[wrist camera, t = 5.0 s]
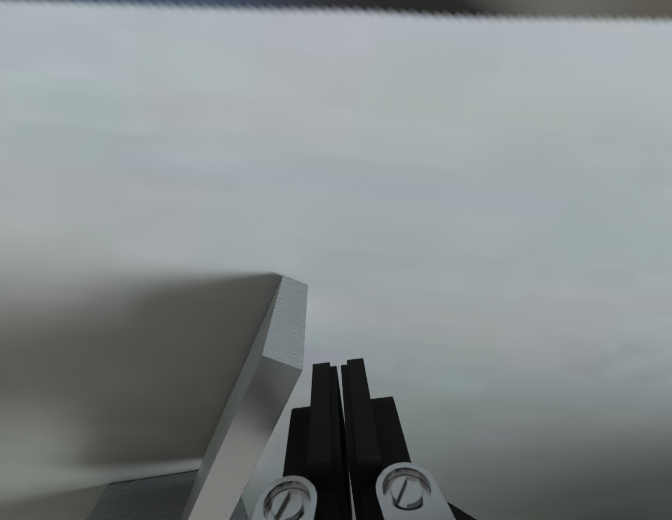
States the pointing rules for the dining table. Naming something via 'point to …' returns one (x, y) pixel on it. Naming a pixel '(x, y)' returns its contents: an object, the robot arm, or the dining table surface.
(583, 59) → the dining table surface
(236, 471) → the loose leaf
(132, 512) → the hinge base
